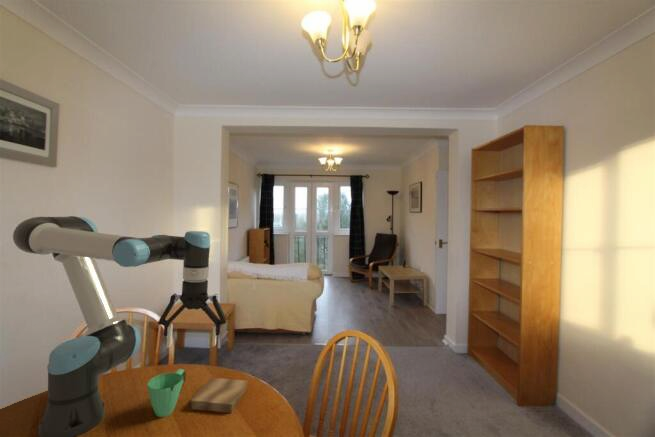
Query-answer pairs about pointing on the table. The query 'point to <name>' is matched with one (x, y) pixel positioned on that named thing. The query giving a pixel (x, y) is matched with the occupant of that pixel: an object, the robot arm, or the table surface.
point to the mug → (165, 391)
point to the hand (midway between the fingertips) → (191, 345)
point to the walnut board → (219, 395)
